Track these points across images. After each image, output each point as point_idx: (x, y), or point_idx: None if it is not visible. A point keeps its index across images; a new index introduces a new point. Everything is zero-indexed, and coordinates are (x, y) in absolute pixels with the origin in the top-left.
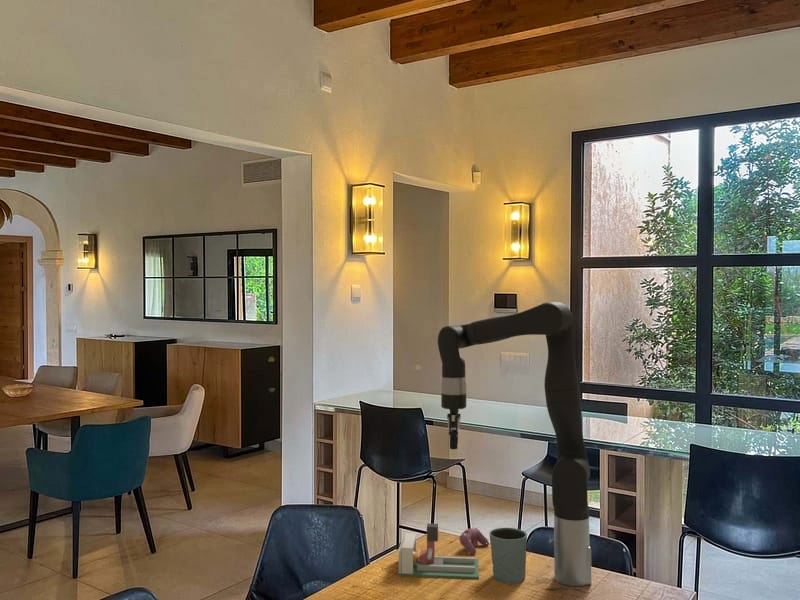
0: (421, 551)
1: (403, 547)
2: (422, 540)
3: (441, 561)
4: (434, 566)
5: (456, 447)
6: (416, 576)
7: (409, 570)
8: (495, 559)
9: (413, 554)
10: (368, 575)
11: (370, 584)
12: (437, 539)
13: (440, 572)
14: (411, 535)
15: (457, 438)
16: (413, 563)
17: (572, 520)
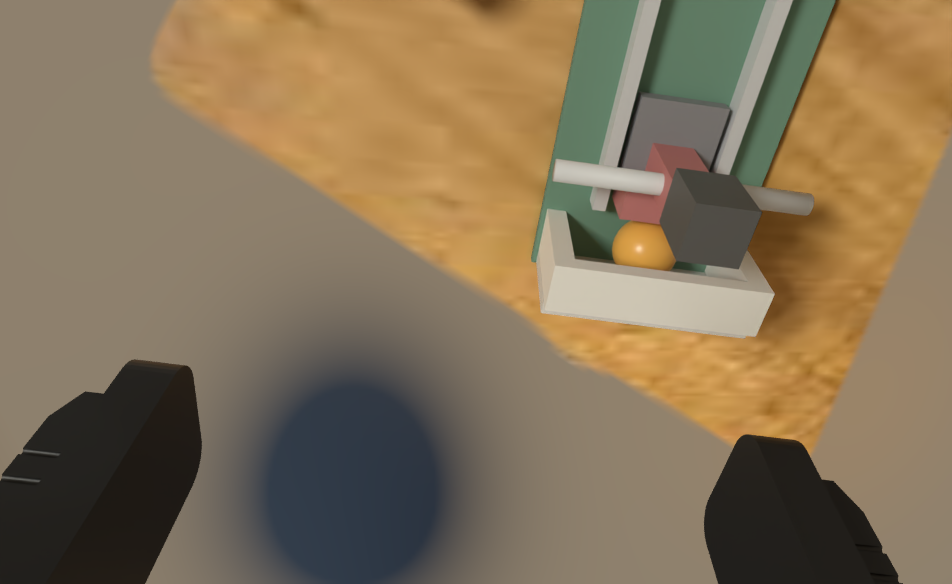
0: (641, 217)
1: (754, 330)
2: (291, 160)
3: (682, 111)
4: (737, 150)
5: (801, 468)
6: None
7: None
8: None
9: (672, 253)
10: (688, 372)
11: (771, 367)
12: (738, 181)
13: (754, 116)
14: (588, 288)
15: (136, 444)
16: None
17: None
